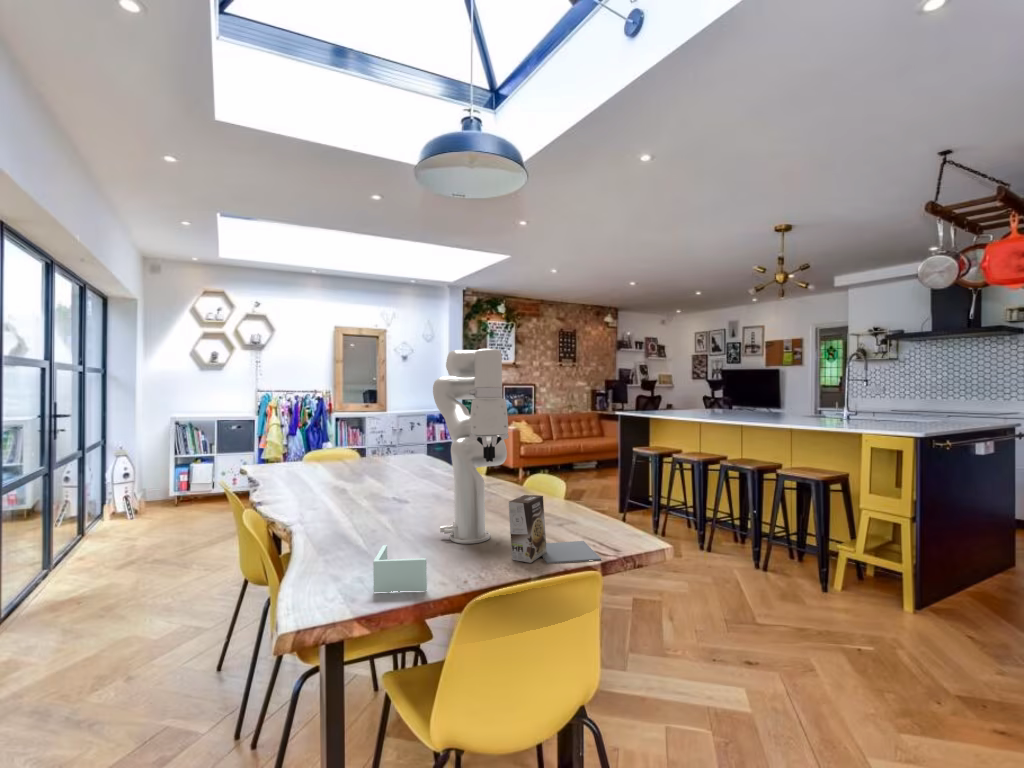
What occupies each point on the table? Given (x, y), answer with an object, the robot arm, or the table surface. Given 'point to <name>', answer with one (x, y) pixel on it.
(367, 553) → the table surface
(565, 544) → the mat
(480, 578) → the table surface
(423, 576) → the right angle wall
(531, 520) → the coffee box
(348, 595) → the table surface
